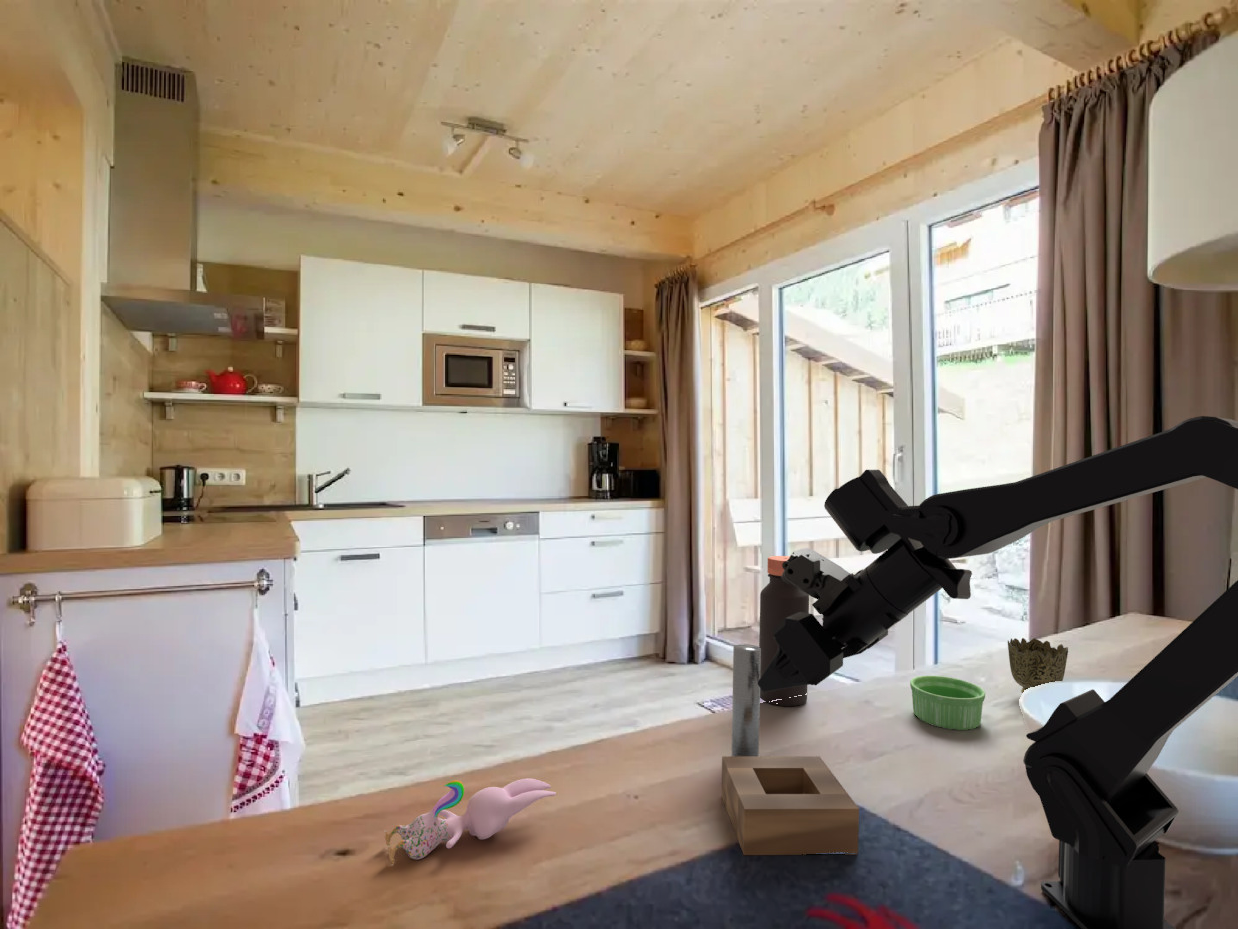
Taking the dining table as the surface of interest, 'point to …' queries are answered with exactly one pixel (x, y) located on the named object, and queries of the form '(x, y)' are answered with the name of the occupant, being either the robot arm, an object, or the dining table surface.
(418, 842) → the rabbit figure
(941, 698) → the ramekin
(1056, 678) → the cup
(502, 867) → the dining table surface
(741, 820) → the walnut square frame
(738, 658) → the steel rod
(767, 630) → the bottle
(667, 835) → the dining table surface
